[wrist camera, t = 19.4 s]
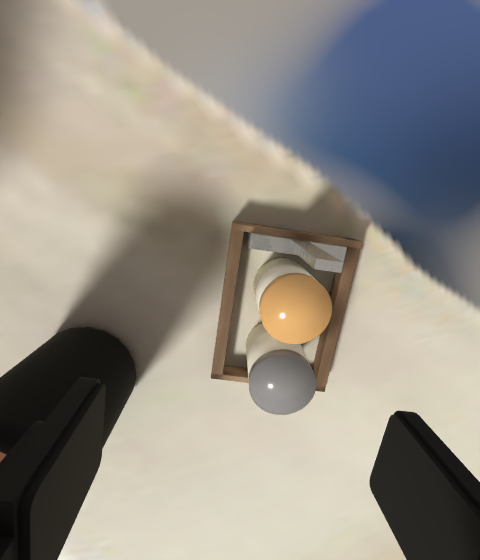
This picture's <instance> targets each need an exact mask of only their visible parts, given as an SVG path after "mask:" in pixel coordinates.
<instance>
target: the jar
mask: <svg viewBox="0 0 480 560" xmlns="http://www.w3.org/2000/svg"><path fill="white" fill-rule="evenodd" d="M253 287H254V293H255V297H256V301H257V305H258V309H259V313H260V317H261V321H262V323H263V326H264V328H265V329H266V331H267V332H268V333H269V334H270V335H271V336H272V337H273V338H275V339H276V340H278V341H280V342H283V343H287V344H301V343H305V342H309V341H311V340H313V339H314V338H316V337H317V336H319V335H320V334H321V333H322V332H323V331H324V330H325V328H326V327H327V325H328V323H329V321H330V318H331V315H332V302H331V298H330V296H329V294H328V292H327V290H326V289H325V288H324V287H323V286H322V285H321V284H320V283H319V282H318V281H317V280H316V279H315V278H314V277H313V276H312V275H311V274H309V273H308V272H307V271H306V270H305V269H304V268H303V267H302V266H301V265H300V264H299V263H297V262H296V261H294V260H291V259H287V258H277V259H273V260H271V261H269V262H267V263H265V264H264V265H263V266H262V267H261V268H260V269H259V270H258V272H257V274H256V276H255V279H254V285H253Z"/></svg>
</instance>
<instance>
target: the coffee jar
mask: <svg viewBox="0 0 480 560" xmlns="http://www.w3.org/2000/svg"><path fill="white" fill-rule="evenodd" d="M80 377H85V378H94V379H99V380H100V384H104V385H106V395H105V411H104V427H103V443H102V449H103V447H104V445H105V443H106V441H107V439H108V437H109V435H110V433H111V431H112V429H113V427H114V425H115V424H116V422H117V420H118V418H119V416H120V414H121V412H122V410H123V408H124V406H125V404H126V402H127V400H128V398H129V397H130V395H131V393H132V391H133V389H134V384H135V380H136V371H135V364H134V360H133V358H132V356H131V354H130V352H129V350H128V349H127V348H126V347H125V345H124V344H123V343H122V342H121V341H120V340H119V339H118V338H116V337H114V336H112V335H111V334H109V333H107V332H105V331H102V330H98V329H94V328H90V327H85V328H71V329H68V330H65V331H62V332H60V333H57V334H56V335H55V336H53V337H52V338H51V339H49V340H48V341H47V342H46V343H44V344H43V345H42V346H40V347H39V348H38V349H37V350H35V351H34V352H33V353H31V354H30V355H29V356H28V357H26V358H25V359H24V360H22V361H21V362H20V363H19V364H17V365H16V366H15V367H13V368H12V369H11V370H9V371H8V372H7V373H6V374H4V375H3V376H2V377H0V462H1V461H2V460H3V458H4V457H5V456H6V455H7V454H8V452H9V451H10V450H11V449H12V448H13V446H14V445H15V444H16V443H17V442H18V440H19V439H20V438H21V437H22V436H23V434H24V433H25V432H26V431H27V430H28V428H29V427H30V426H31V425H32V424H33V423H34V422H36V421H45V420H46V419H47V417H48V416H49V415H50V413H51V412H52V411H53V410H54V408H55V407H56V406H57V405H58V403H59V402H60V401H61V400H62V398H63V397H64V396H65V395H66V393H67V392H68V391H69V389H70V388H71V387H72V386H73V384H74V383H75V382H76V381H77V379H78V378H80Z"/></svg>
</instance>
